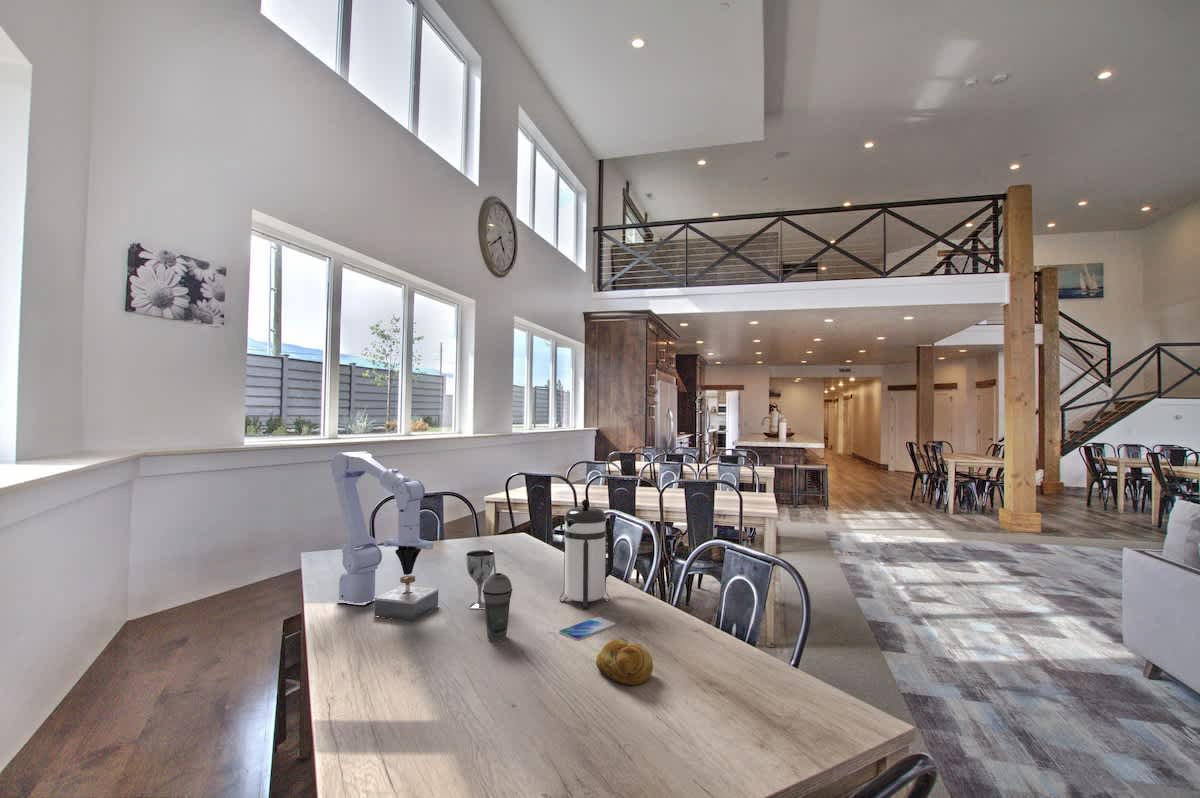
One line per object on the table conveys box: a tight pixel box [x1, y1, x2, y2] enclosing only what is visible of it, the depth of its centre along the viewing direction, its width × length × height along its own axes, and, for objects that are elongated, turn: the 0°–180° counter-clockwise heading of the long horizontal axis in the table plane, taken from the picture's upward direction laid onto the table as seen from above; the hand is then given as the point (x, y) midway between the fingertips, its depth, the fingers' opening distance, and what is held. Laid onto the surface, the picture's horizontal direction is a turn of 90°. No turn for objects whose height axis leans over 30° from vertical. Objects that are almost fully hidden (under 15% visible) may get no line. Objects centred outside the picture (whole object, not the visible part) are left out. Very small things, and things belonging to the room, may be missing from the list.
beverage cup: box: [482, 554, 513, 642], centre depth 137 cm, size 7×7×20 cm
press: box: [374, 584, 439, 622], centre depth 155 cm, size 12×14×5 cm
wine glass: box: [465, 549, 495, 608], centre depth 160 cm, size 8×8×15 cm
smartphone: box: [558, 616, 618, 641], centre depth 143 cm, size 7×1×15 cm
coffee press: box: [559, 498, 615, 610], centre depth 166 cm, size 17×16×30 cm
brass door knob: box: [399, 575, 416, 595], centre depth 154 cm, size 10×10×6 cm
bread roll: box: [595, 638, 654, 686], centre depth 117 cm, size 13×10×8 cm
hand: (407, 573), depth 155 cm, fingers closed
